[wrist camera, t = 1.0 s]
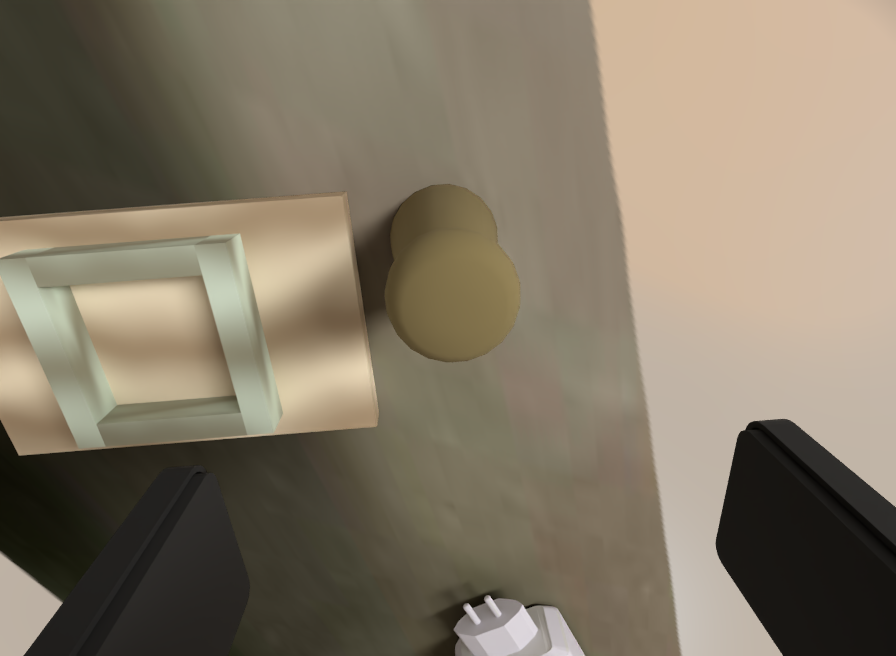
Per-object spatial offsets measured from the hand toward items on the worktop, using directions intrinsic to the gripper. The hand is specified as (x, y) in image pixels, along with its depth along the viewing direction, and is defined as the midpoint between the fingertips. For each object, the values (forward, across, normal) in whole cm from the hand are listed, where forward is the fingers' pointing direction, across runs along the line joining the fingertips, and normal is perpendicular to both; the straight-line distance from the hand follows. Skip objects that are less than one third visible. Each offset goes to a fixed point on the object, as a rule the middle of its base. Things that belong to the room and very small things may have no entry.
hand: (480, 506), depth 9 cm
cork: (+20, 0, 0) cm, 20 cm away
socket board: (+20, +16, +4) cm, 26 cm away
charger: (+21, -3, +33) cm, 39 cm away
